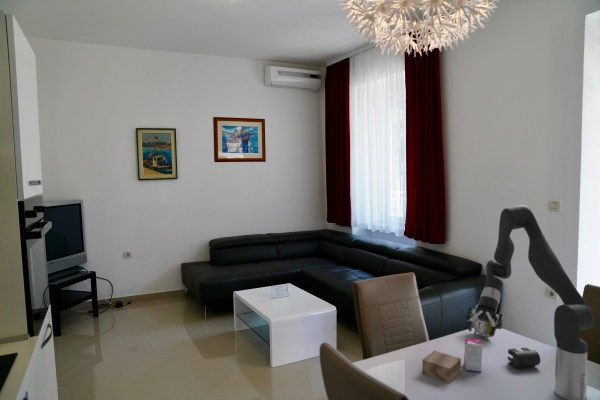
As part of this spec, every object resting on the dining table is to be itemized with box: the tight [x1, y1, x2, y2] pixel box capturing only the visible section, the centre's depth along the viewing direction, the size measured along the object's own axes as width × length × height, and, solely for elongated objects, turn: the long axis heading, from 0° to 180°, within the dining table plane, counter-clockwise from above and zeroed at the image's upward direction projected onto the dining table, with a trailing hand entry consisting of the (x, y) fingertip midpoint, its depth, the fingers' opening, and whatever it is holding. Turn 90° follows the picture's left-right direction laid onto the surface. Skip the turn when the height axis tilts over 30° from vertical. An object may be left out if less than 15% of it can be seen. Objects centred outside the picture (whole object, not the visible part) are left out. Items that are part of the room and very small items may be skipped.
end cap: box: [507, 346, 541, 369], centre depth 168 cm, size 10×7×7 cm
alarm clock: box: [471, 304, 496, 341], centre depth 198 cm, size 12×7×15 cm, turn 10°
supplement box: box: [463, 338, 483, 373], centre depth 166 cm, size 6×6×12 cm
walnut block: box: [421, 350, 462, 384], centre depth 163 cm, size 11×11×6 cm
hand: (479, 333), depth 172 cm, fingers open, 8 cm apart
